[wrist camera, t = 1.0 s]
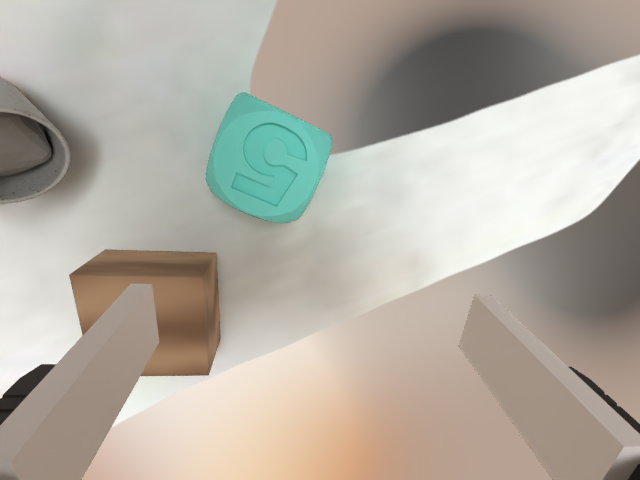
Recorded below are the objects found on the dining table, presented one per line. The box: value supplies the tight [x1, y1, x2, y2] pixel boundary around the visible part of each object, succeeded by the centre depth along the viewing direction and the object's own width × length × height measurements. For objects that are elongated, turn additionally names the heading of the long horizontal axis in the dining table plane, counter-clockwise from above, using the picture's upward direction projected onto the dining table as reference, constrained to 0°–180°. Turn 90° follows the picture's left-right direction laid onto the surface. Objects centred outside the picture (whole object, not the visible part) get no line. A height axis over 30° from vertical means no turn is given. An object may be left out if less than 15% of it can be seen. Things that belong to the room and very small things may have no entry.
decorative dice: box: [206, 92, 332, 223], centre depth 27 cm, size 8×8×8 cm
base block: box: [69, 250, 220, 376], centre depth 32 cm, size 11×11×6 cm
